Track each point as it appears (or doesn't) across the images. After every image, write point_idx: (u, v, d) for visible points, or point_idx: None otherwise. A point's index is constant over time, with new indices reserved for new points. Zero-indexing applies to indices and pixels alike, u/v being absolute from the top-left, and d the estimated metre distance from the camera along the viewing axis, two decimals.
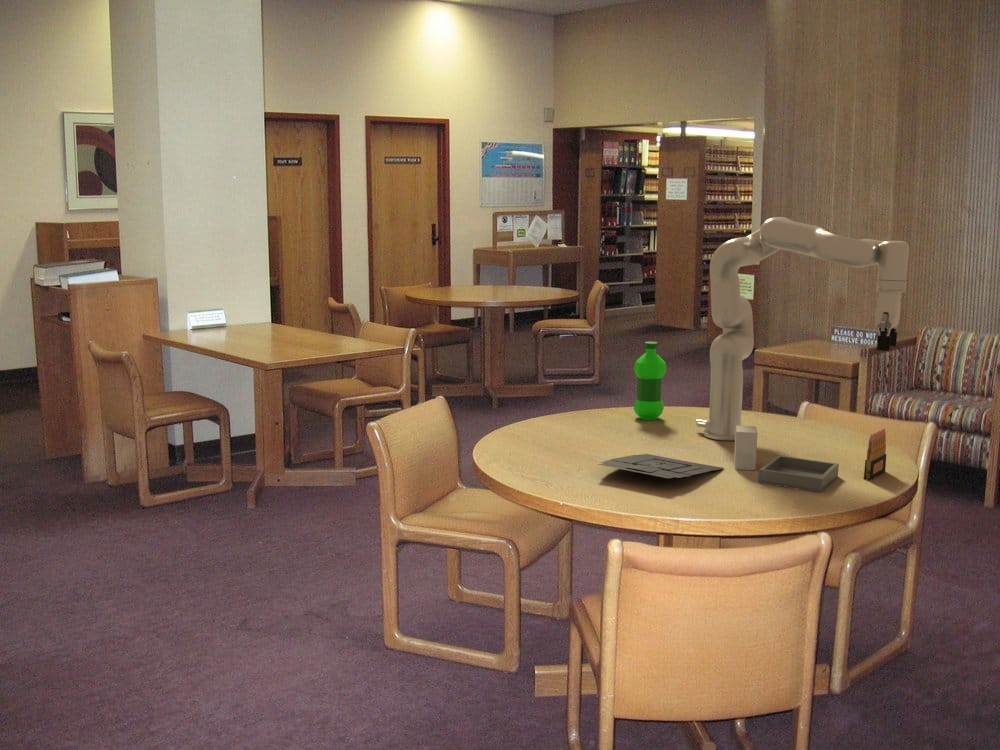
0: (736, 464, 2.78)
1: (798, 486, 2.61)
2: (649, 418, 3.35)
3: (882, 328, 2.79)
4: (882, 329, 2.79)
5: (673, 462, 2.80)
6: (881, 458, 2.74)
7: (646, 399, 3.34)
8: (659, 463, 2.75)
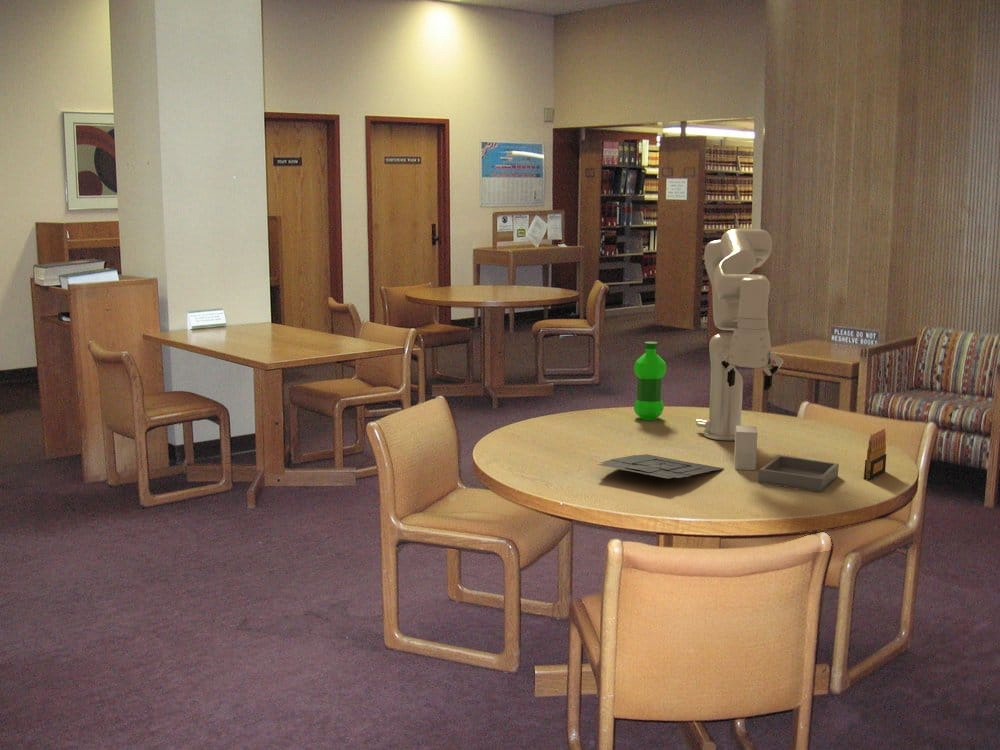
0: (736, 464, 2.78)
1: (798, 486, 2.61)
2: (649, 418, 3.35)
3: (779, 367, 2.73)
4: (778, 368, 2.73)
5: (673, 462, 2.80)
6: (881, 458, 2.74)
7: (646, 399, 3.34)
8: (659, 463, 2.75)
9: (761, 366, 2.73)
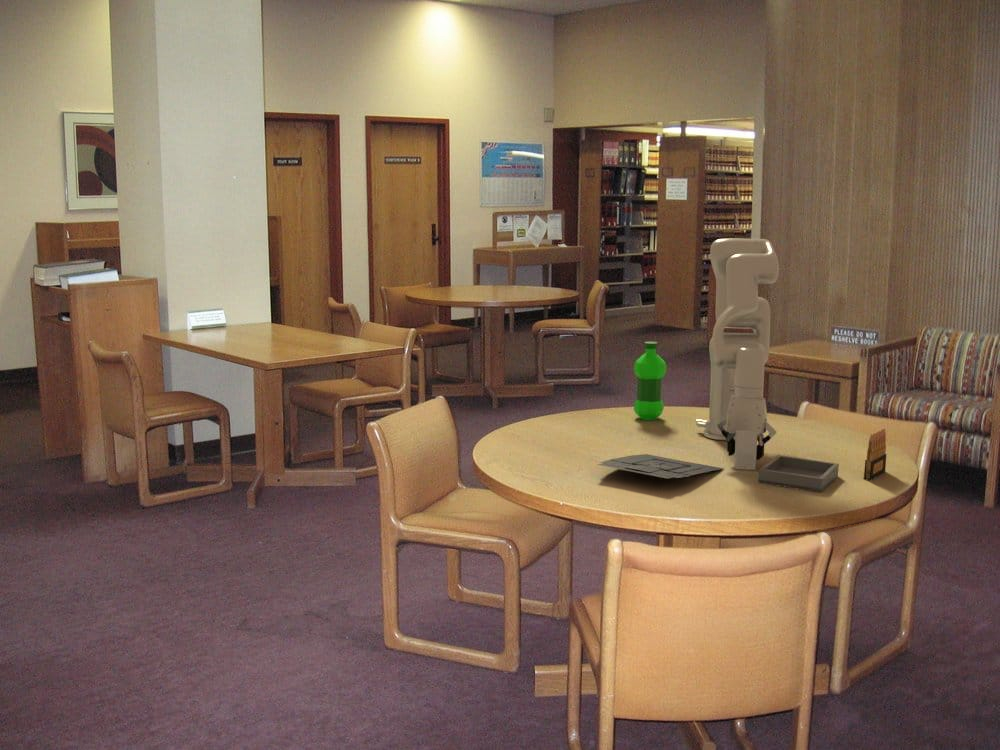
0: (736, 464, 2.78)
1: (798, 486, 2.61)
2: (649, 418, 3.35)
3: None
4: (770, 438, 2.77)
5: (672, 462, 2.80)
6: (881, 458, 2.74)
7: (646, 399, 3.34)
8: (658, 463, 2.75)
9: (757, 434, 2.76)
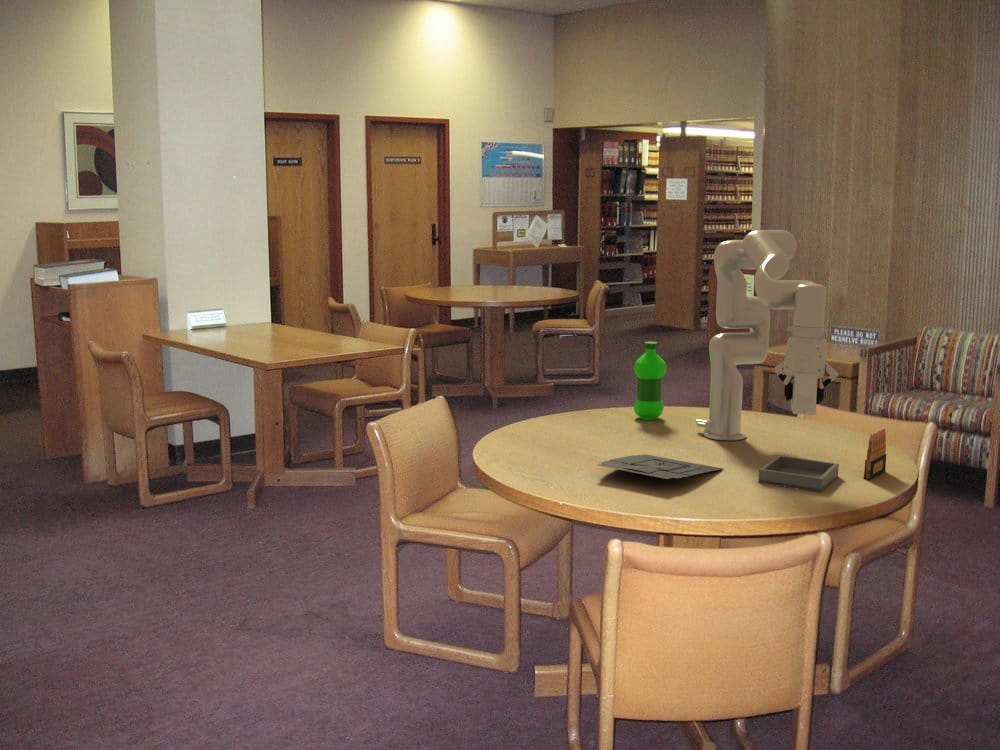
0: (795, 408, 2.63)
1: (798, 486, 2.61)
2: (649, 418, 3.35)
3: (832, 380, 2.61)
4: (831, 381, 2.62)
5: (672, 462, 2.80)
6: (881, 458, 2.74)
7: (646, 399, 3.34)
8: (658, 464, 2.75)
9: (817, 377, 2.60)
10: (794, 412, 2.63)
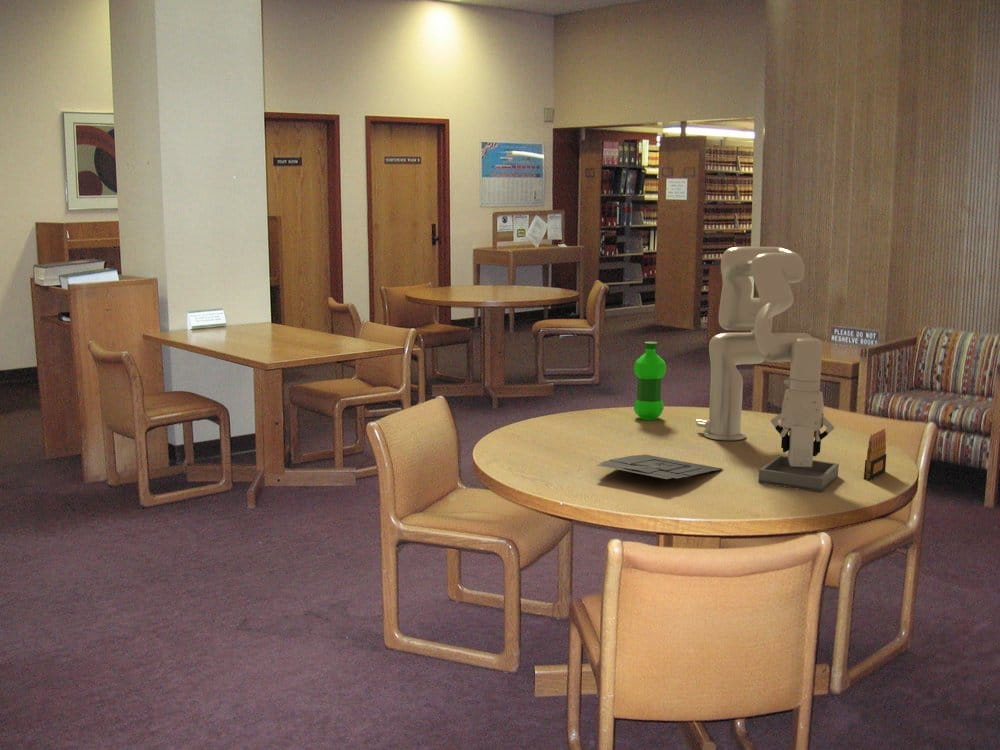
0: (791, 461, 2.65)
1: (798, 486, 2.61)
2: (649, 418, 3.35)
3: (828, 433, 2.64)
4: (827, 434, 2.64)
5: (672, 463, 2.80)
6: (881, 458, 2.74)
7: (646, 399, 3.34)
8: (658, 464, 2.75)
9: (814, 430, 2.63)
10: (791, 464, 2.65)
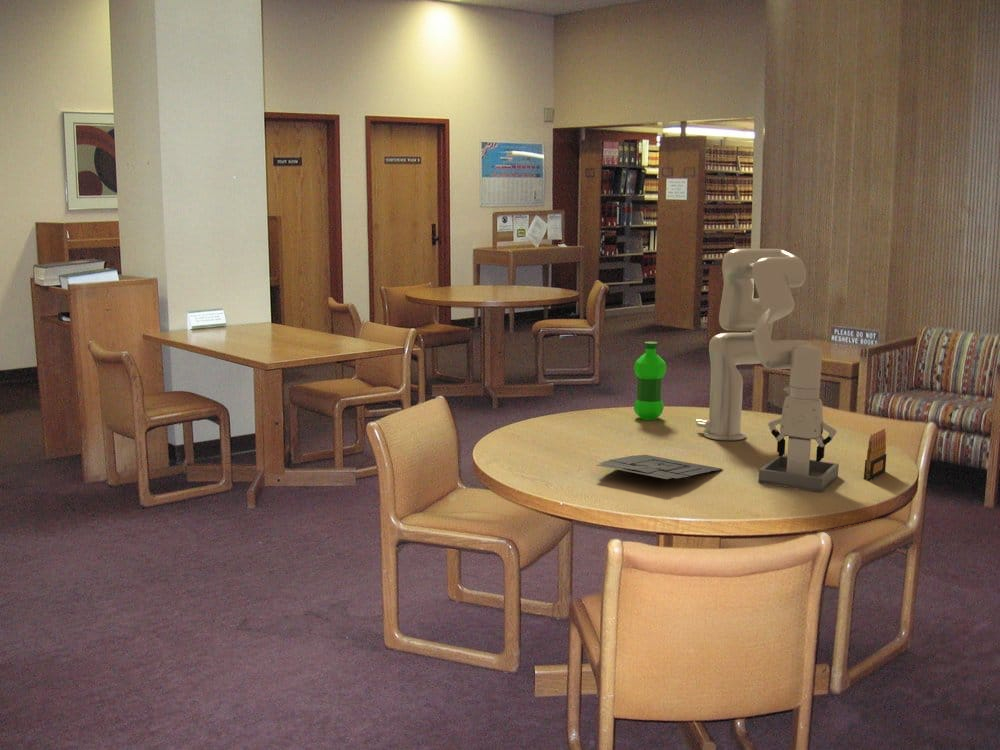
0: None
1: (798, 486, 2.61)
2: (649, 418, 3.35)
3: (832, 438, 2.64)
4: (831, 439, 2.64)
5: (671, 463, 2.79)
6: (881, 458, 2.74)
7: (646, 399, 3.34)
8: (657, 464, 2.75)
9: (814, 437, 2.63)
10: None
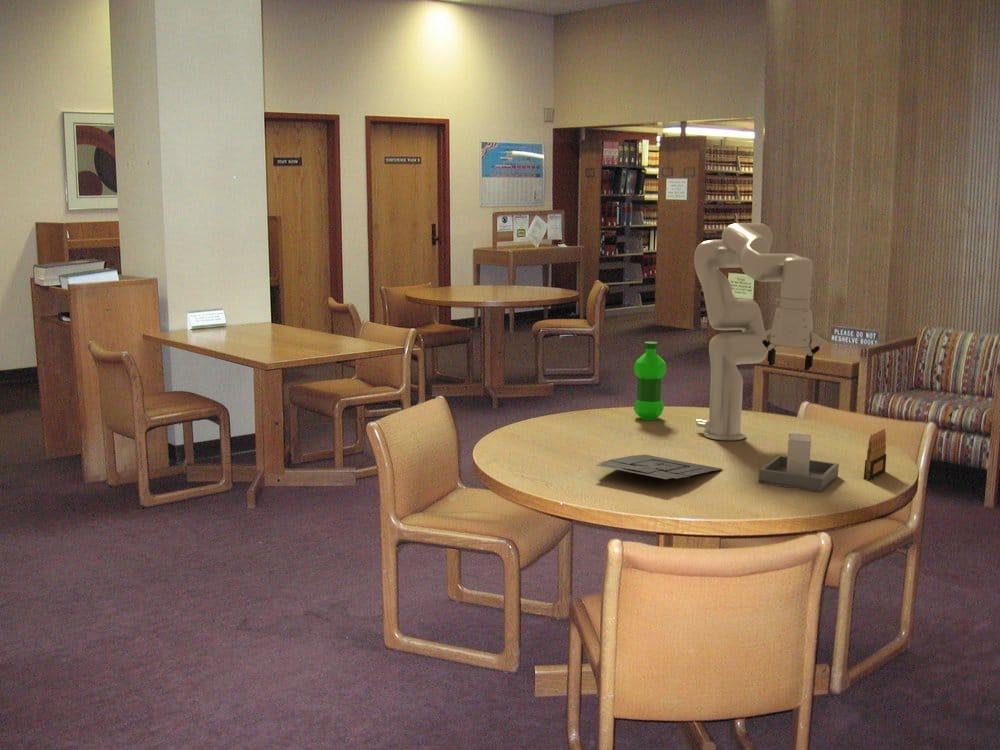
0: None
1: (798, 486, 2.61)
2: (649, 418, 3.35)
3: (820, 347, 2.74)
4: (820, 348, 2.74)
5: (671, 463, 2.79)
6: (881, 458, 2.74)
7: (646, 399, 3.34)
8: (657, 464, 2.75)
9: (802, 346, 2.73)
10: None
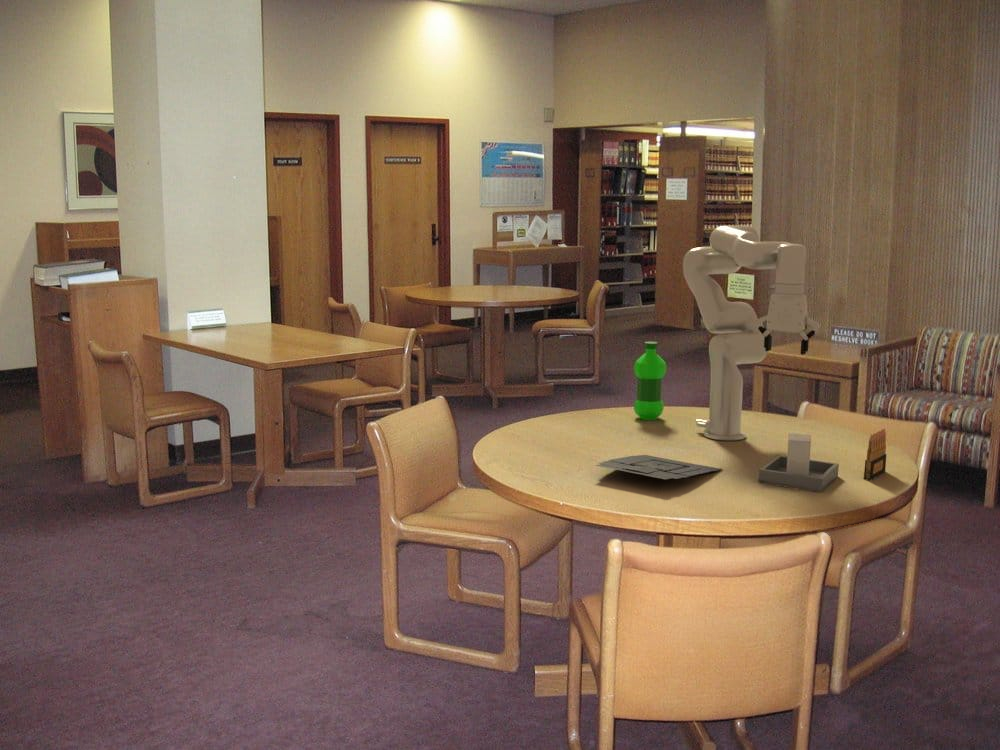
0: None
1: (798, 486, 2.61)
2: (649, 418, 3.35)
3: (816, 331, 2.78)
4: (815, 332, 2.79)
5: (671, 463, 2.79)
6: (881, 458, 2.74)
7: (646, 399, 3.34)
8: (657, 464, 2.74)
9: (798, 331, 2.78)
10: None
